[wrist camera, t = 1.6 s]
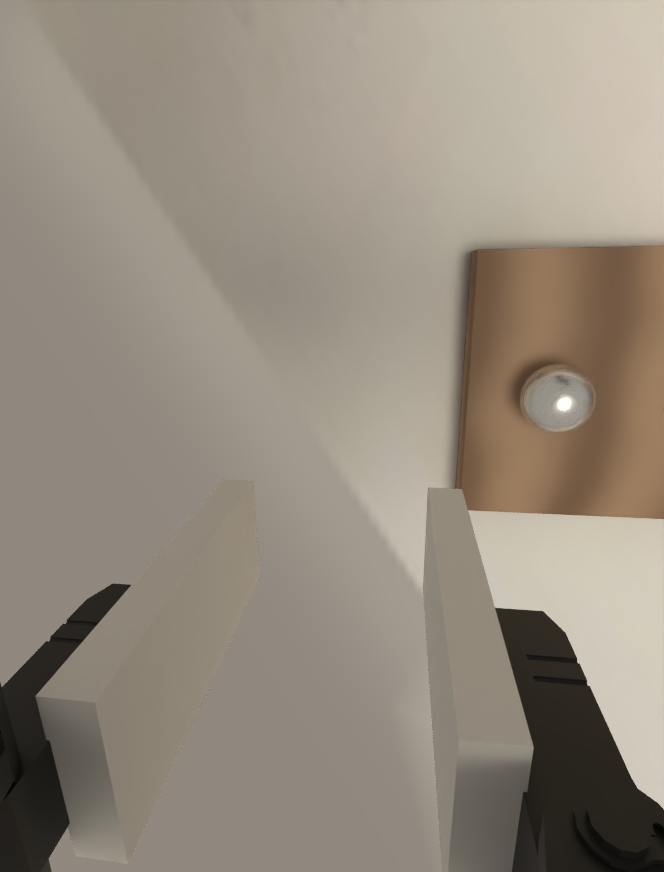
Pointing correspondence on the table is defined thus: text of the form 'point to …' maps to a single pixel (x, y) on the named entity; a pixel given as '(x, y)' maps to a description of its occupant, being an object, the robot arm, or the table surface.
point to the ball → (557, 399)
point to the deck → (576, 346)
